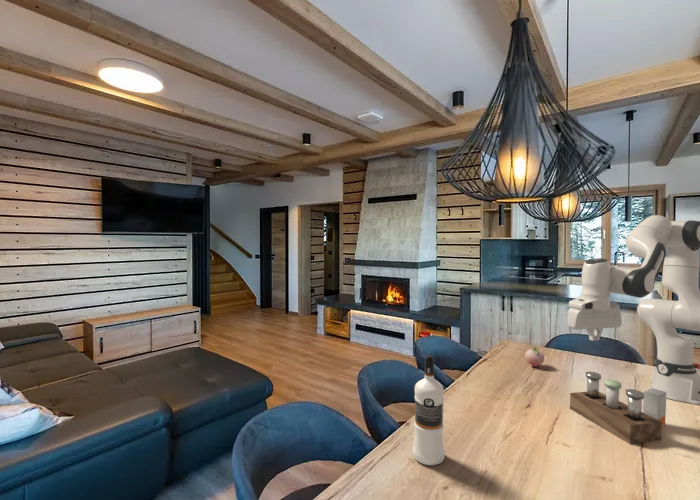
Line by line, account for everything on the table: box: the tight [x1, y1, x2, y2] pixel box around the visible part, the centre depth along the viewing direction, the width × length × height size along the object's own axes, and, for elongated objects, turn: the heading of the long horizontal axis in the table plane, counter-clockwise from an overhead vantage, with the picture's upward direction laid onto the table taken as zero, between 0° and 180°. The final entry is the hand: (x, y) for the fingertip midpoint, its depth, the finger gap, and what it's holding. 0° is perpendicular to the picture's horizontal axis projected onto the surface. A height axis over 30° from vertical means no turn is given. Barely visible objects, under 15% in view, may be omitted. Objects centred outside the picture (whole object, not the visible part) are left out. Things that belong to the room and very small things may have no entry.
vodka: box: [412, 355, 446, 466], centre depth 106 cm, size 9×9×30 cm
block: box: [569, 391, 663, 445], centre depth 126 cm, size 12×24×6 cm, turn 11°
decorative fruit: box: [524, 347, 545, 368], centre depth 181 cm, size 9×8×10 cm
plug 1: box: [585, 371, 602, 399], centre depth 134 cm, size 5×5×9 cm
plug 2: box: [625, 388, 644, 421], centre depth 118 cm, size 5×5×9 cm
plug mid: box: [603, 379, 622, 410], centre depth 126 cm, size 5×5×9 cm
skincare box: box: [642, 387, 667, 428], centre depth 124 cm, size 6×4×12 cm
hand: (594, 340), depth 133 cm, fingers closed
